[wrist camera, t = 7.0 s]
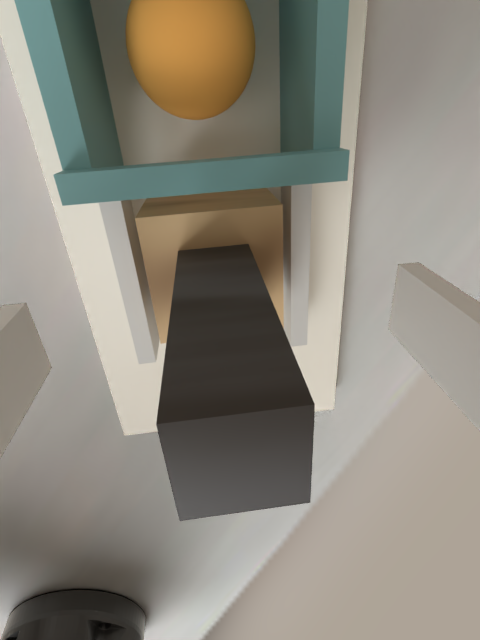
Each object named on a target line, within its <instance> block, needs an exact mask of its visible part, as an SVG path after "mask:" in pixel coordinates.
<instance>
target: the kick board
mask: <svg viewBox="0 0 480 640" xmlns="http://www.w3.org/2000/svg"><path fill="white" fill-rule="evenodd" d="M130 2H131V0H90V3H91V8H92V13H93V18H94V23H95V28H96V32H97V37H98V42H99V47H100V52H101V57H102V62H103V66H104V71H105V76H106V81H107V86H108V91H109V96H110V100H111V105H112V110H113V115H114V120H115V125H116V130H117V134H118V139H119V144H120V149H121V154H122V159H123V164H124V166H125V165H137V164H150V163H162V162H174V161H186V160H198V159H210V158H222V157H235V156H247V155H259V154H271V153H280V54H279V0H245V2H246V4H247V6H248V9H249V12H250V15H251V18H252V22H253V26H254V33H255V59H254V64H253V69H252V73H251V76H250V79H249V81H248V83H247V85H246V87H245V89H244V91H243V92H242V94H241V96H240V97H239V98H238V99H237V100H236V102H235V103H234V104H233V105H232V106H230V107H229V108H228V109H227V110H225V111H224V112H222V113H221V114H219V115H217V116H214V117H211V118H208V119H203V120H189V119H183V118H179V117H177V116H174V115H172V114H170V113H168V112H166V111H165V110H163V109H161V108H160V107H159V106H158V105H157V104H155V103H154V102H153V101H152V100H151V99H150V98H149V97H148V95H147V94H146V93H145V92H144V90H143V89H142V87H141V86H140V84H139V82H138V81H137V79H136V77H135V75H134V72H133V70H132V67H131V65H130V61H129V58H128V53H127V47H126V34H125V30H126V18H127V13H128V9H129V5H130ZM367 5H368V0H349V11H348V27H347V43H346V59H345V74H344V90H343V106H342V122H341V138H340V148H343V149H347V150H350V154H349V167H348V180H347V181H338V182H327V183H315V184H304V185H293V186H281V187H270V188H267V189H268V190H269V191H270V192H271V193H272V194H273V195H274V196H275V197H276V198H277V199H278V200H279V201H280V202H281V203H282V204H283V294H284V331H285V334H286V336H287V338H288V341H289V343H290V346H291V348H292V350H293V353H294V355H295V358H296V360H297V363H298V365H299V367H300V370H301V372H302V375H303V377H304V380H305V382H306V384H307V387H308V389H309V392H310V394H311V397H312V399H313V401H314V404H315V411H314V412H316V411H324V410H332V409H334V404H335V392H336V380H337V368H338V355H339V343H340V331H341V319H342V307H343V295H344V283H345V271H346V259H347V247H348V234H349V222H350V210H351V198H352V186H353V174H354V162H355V150H356V138H357V126H358V113H359V101H360V89H361V77H362V65H363V53H364V41H365V29H366V17H367ZM0 37H1V40H2V43H3V47H4V50H5V53H6V56H7V59H8V63H9V66H10V69H11V72H12V76H13V79H14V82H15V85H16V88H17V92H18V95H19V98H20V101H21V105H22V108H23V111H24V114H25V117H26V121H27V124H28V127H29V130H30V134H31V137H32V140H33V143H34V146H35V150H36V153H37V156H38V159H39V163H40V166H41V169H42V172H43V175H44V179H45V182H46V185H47V188H48V191H49V195H50V198H51V201H52V204H53V208H54V211H55V214H56V217H57V220H58V224H59V227H60V230H61V233H62V237H63V240H64V243H65V246H66V249H67V253H68V256H69V259H70V262H71V266H72V269H73V272H74V275H75V278H76V282H77V285H78V288H79V291H80V295H81V298H82V301H83V304H84V307H85V311H86V314H87V317H88V320H89V324H90V327H91V330H92V333H93V336H94V340H95V343H96V346H97V349H98V352H99V356H100V359H101V362H102V365H103V369H104V372H105V375H106V378H107V381H108V385H109V388H110V391H111V394H112V398H113V401H114V404H115V407H116V410H117V414H118V417H119V420H120V423H121V427H122V430H123V433H124V436H126V435H134V434H142V433H150V432H158V430H157V426H156V421H157V414H158V406H159V398H160V390H161V382H162V374H163V366H164V358H165V350H166V343H162V344H161V343H160V338H159V333H158V328H157V324H156V319H155V314H154V309H153V304H152V299H151V294H150V290H149V285H148V280H147V275H146V270H145V265H144V260H143V256H142V251H141V246H140V241H139V236H138V231H137V226H136V222H135V217H136V215H137V214H138V212H139V210H140V208H141V207H142V205H143V203H144V202H145V200H146V198H145V199H134V200H122V201H111V202H100V203H88V204H77V205H66V206H62V202H61V199H60V196H59V192H58V189H57V186H56V182H55V179H54V176H53V175H54V174H56V173H58V172H61V171H63V170H62V166H61V163H60V159H59V156H58V152H57V149H56V145H55V142H54V138H53V135H52V131H51V128H50V124H49V120H48V117H47V113H46V110H45V106H44V103H43V99H42V96H41V92H40V89H39V85H38V82H37V78H36V75H35V71H34V68H33V64H32V61H31V57H30V54H29V50H28V47H27V43H26V40H25V36H24V33H23V29H22V26H21V22H20V19H19V15H18V11H17V8H16V4H15V1H14V0H0Z"/></svg>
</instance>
